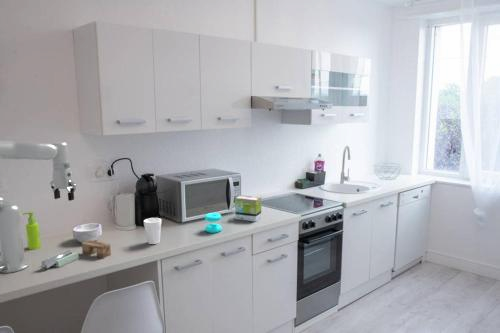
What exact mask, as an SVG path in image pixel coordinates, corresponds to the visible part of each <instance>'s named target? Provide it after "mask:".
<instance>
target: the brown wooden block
mask: <svg viewBox="0 0 500 333" xmlns="http://www.w3.org/2000/svg"><path fill="white" fill-rule="evenodd" d="M81 248H82V249H81V250H82V255H83V256H88V257H89V256H92V255H94V254H96V257H97V258H100V259H105V257H106V258H108V257H110V256H111V255H112V251H111V250H112V249H111V243H109V242H103V241H102V242H101V241H97V240H96V241H91V240H89V241H86V242H84V243H81ZM107 256H108V257H107Z"/></svg>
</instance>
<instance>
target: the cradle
mask: <svg viewBox="0 0 500 333" xmlns="http://www.w3.org/2000/svg"><path fill="white" fill-rule="evenodd" d="M67 250H68V249H67ZM67 250H64V251H62V252H65V251H67ZM62 252H59V253H57V254H54V255H52V256H50V257H48V258H51V257H53V256H55V255H58V254H60V253H62ZM79 256H80V255H79V252H77V251H74V252H73V253H72V254H70V255H68V256H66V257H64V258H61V259H59V260H57V261H56V264H55V265H53V266H52V267H54V268H62V267H64V266H66V265H68V264H70V263H73V262H75V261H77V260H79V259H80V257H79ZM48 258H46V259H48Z"/></svg>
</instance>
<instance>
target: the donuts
mask: <svg viewBox="0 0 500 333" xmlns="http://www.w3.org/2000/svg"><path fill="white" fill-rule="evenodd" d="M221 219H222V215H221V213H217V212H211V213H210V212H209V213H207V214H205V216H204V220H205V221H207V222H209V223H210V224H207V225H206V226H205V228H204V230H205V231H206V232H207V233H210V234H214V233H216V234H217V233H219V232H221V231H222V229H223V227H222V225H220V224H218V223H215V222H218V221H220V220H221Z"/></svg>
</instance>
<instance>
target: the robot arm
mask: <svg viewBox="0 0 500 333" xmlns="http://www.w3.org/2000/svg"><path fill="white" fill-rule="evenodd" d="M68 148H69V147H68V143H67V142H65V141H56V142H52V143H51V142H50V143H47V142H40V143H39V142H38V143H30V142H29V143H28V142H21V141H16V140H0V160H34V161H35V160H39V161H40V160H47V161H48V160H52V181H50V182H49V185H50V186H51V189H52V192H53V198H54V199H55V200H57V199H61V190H66V192H67V200H68V201H69V202H70V201H71V202H72V201H74V200H75V194H74V193H75V191H76V189H77V184H76V183H75V182H74V177H73V172H72V169H71V168H70V167H71V166H70V159H69V158H70V157H69V149H68ZM60 189H61V190H60ZM22 214H23V213H22V210H21V208H20V207H19V206H18V205H17V204H16V203H13V202H10V201H9V200H6V199H4V198H3V197H1V196H0V256H1V257H0V258H1V260H0V273H3V274H5V273H6V274H8V273H15V272H20V271H23V270H24V269H25V270H26V268H28V267H29V266H30V261H29V260H27V259H26V255H25V246H24V245H25V244H24V238H23V229H22V219H23V218H22V216H23V215H22Z"/></svg>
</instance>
